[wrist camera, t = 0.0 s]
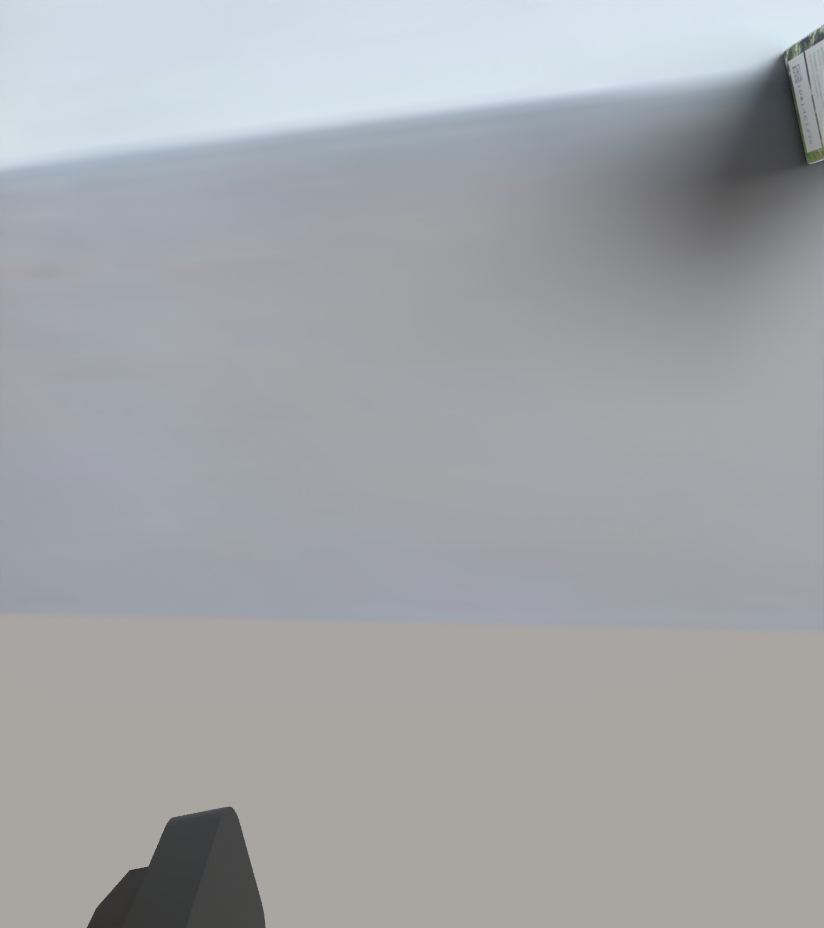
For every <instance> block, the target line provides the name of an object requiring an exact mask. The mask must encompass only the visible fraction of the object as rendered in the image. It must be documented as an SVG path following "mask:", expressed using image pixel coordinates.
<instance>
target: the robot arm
mask: <svg viewBox="0 0 824 928" xmlns="http://www.w3.org/2000/svg"><path fill="white" fill-rule="evenodd" d="M87 928H265V920H264V912H263V907H262V902H261V899H260V895H259V891H258V888H257V884H256V880H255V877H254V873H253V870H252V866H251V863H250V859H249V855H248V852H247V848H246V844H245V840H244V837H243V833H242V830H241V826H240V823H239V819H238V816H237V814H236V813H235V811H234V809H233V808H232V807H225V808H220V809H214V810H209V811H204V812H199V813H194V814H189V815H183V816H178V817H173V818H171V819H170V820H169V822H168V823H167V825H166V827H165V829H164V831H163V834H162V836H161V838H160V841H159V844H158V845H157V848H156V850H155V853H154V855H153V857H152V860H151V862H150V864H149V867H144V868H139V869H134V870H130V871H129V872H128V873H127V874H126V875H125V877H123V879H122V880H121V881H120V882H119V883H118V884H117V885H116V887H115V888H114V889H113V890H112V891H111V892H110V893H109V894H108V896H107V897H106V898H105V899H104V900H103V901H102V902H101V904H100V905H99V906H98V907H97V908H96V910H95V912H94V914H93V917H92V918H91V921H90V923H89V925H88V927H87Z"/></svg>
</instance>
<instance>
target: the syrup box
mask: <svg viewBox="0 0 824 928" xmlns="http://www.w3.org/2000/svg"><path fill="white" fill-rule="evenodd" d="M784 58H785V63H786V68H787V73H788V77H789V81H790V86H791V91H792V94H793V100H794V104H795V109H796V114H797V118H798V123H799V127H800V132H801V137H802V142H803V146H804V152H805V156H806V159H807V163H808V164H813V163H817V162H820V161H823V160H824V25H822V26H821V27H819V28H818V29H816V30H815V31H813V32H812V33H810V34H809V35H807V36H806V37H804V38H803V39H801V40H800V41H798V42H797V43H795V44H794V45H792V46H791V47H789V48H788V49H787V50H785V52H784Z"/></svg>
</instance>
